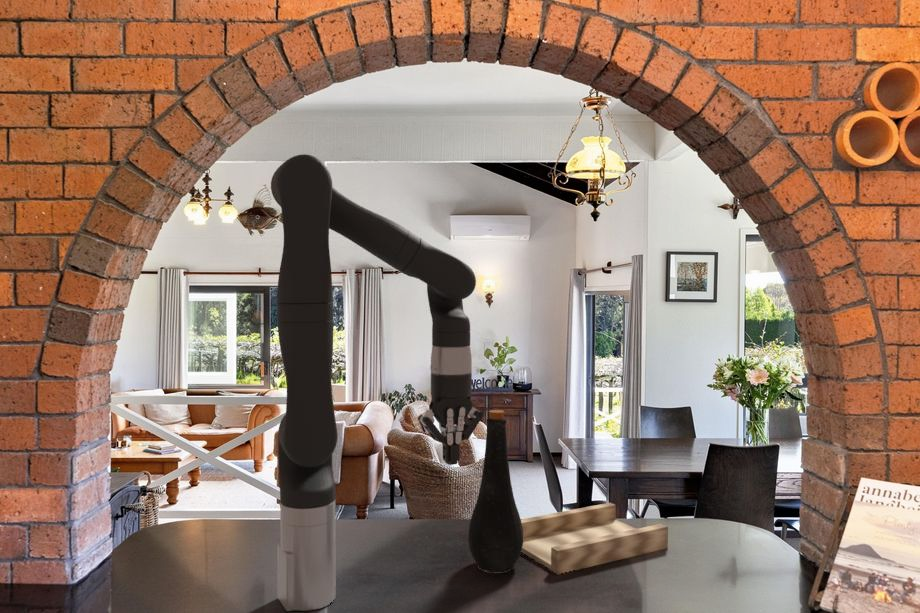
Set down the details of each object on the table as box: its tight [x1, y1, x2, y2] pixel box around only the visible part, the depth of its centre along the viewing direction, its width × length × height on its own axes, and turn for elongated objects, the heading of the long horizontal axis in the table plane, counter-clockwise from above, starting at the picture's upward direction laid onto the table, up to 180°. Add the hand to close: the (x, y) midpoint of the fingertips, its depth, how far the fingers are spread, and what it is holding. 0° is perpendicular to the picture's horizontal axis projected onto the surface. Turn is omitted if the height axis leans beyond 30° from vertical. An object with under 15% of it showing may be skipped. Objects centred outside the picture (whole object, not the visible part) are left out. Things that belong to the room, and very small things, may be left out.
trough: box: [520, 502, 669, 575], centre depth 151 cm, size 28×18×4 cm, turn 119°
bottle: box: [467, 409, 523, 572], centre depth 140 cm, size 11×11×30 cm
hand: (451, 463), depth 135 cm, fingers closed
